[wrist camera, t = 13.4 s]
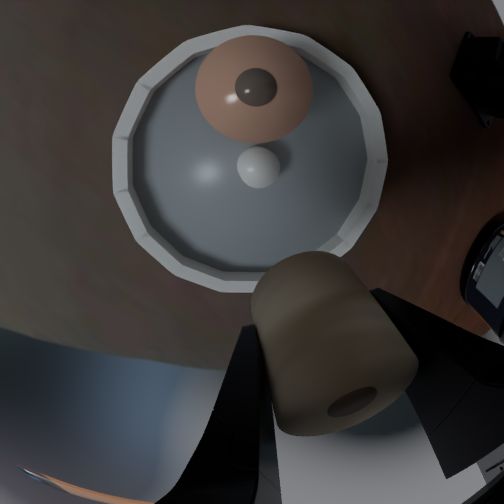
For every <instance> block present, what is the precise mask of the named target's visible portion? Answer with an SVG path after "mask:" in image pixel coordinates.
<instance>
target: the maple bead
mask: <svg viewBox="0 0 504 504" xmlns="http://www.w3.org/2000/svg"><path fill="white" fill-rule="evenodd" d="M251 311H252V316H253V320H254V325H255V327H256V331H257V335H258V340H259V344H260V349H261V353H262V358H263V363H264V369H265V374H266V378H267V383H268V387H269V392H270V396H271V400H272V404H273V409H274V413H275V417H276V422H277V425H278V427H279V429H281V431H283V432H285V433H287V434H290V435H295V436H318V435H324V434H329V433H333V432H336V431H340V430H343V429H346V428H348V427H351V426H354V425H356V424H358V423H360V422H362V421H364V420H366V419H368V418H370V417H372V416H373V415H375V414H377V413H378V412H380V411H381V410H383V409H384V408H386V407H387V406H389V405H390V404H391V403H392V402H393V401H395V400H396V399H397V398H398V397H399V396H400V395H401V394H402V393H403V392H404V391H405V390H406V389H407V388H408V386H409V385H410V384H411V382H412V381H413V379H414V377H415V375H416V373H417V371H418V366H419V361H418V358H417V357H416V355H415V354H414V352H413V351H412V349H411V348H410V346H409V345H408V343H407V342H406V341H405V339H404V338H403V336H402V335H401V334H400V332H399V331H398V329H397V328H396V327H395V325H394V324H393V322H392V321H391V320H390V318H389V317H388V316H387V314H386V313H385V311H384V310H383V309H382V307H381V306H380V305H379V303H378V302H377V301H376V300H375V298H374V297H373V296H372V294H371V293H370V292H369V290H368V289H367V288H366V286H365V285H364V284H363V283H362V281H361V280H360V279H359V278H358V276H357V275H356V274H355V273H354V271H353V270H352V269H351V268H350V266H349V265H348V264H347V263H346V262H345V261H344V260H343V259H342V258H340V257H339V256H337V255H335V254H332V253H329V252H324V251H307V252H302V253H298V254H295V255H292V256H289V257H287V258H285V259H283V260H281V261H280V262H278V263H277V264H275V265H274V266H272V267H271V268H270V269H269V270H268V271H267V272H266V273H265V274H264V275H263V276H262V277H261V279H260V280H259V282H258V283H257V285H256V287H255V289H254V291H253V294H252V298H251Z"/></svg>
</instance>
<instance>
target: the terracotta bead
mask: <svg viewBox="0 0 504 504" xmlns="http://www.w3.org/2000/svg"><path fill="white" fill-rule="evenodd" d="M195 94H196V100H197V103H198V106H199V109H200V111H201V113H202V115H203V116H204V118H205V119H206V120H207V121H208V123H209V124H210V125H211V126H212V127H213V128H214V129H216V130H217V131H218V132H220V133H221V134H223V135H225V136H227V137H229V138H231V139H234V140H236V141H240V142H245V143H265V142H270V141H274V140H277V139H279V138H282V137H284V136H285V135H287V134H289V133H290V132H292V131H293V130H294V129H295V128H296V127H297V126H299V124H300V123H301V122H302V121H303V120H304V118H305V116H306V115H307V113H308V111H309V109H310V106H311V102H312V97H313V84H312V78H311V75H310V72H309V70H308V67H307V66H306V64H305V62H304V61H303V59H302V58H301V57H300V56H299V55H298V54H297V53H296V52H295V51H294V50H293V49H292V48H291V47H289V46H288V45H286V44H284V43H283V42H281V41H278V40H276V39H273V38H270V37H266V36H259V35H248V36H241V37H236V38H233V39H230V40H228V41H226V42H224V43H222V44H220V45H219V46H217V47H216V48H215V49H214V50H212V51H211V52H210V53H209V54H208V56H207V57H206V58H205V59H204V61H203V62H202V64H201V66H200V68H199V70H198V73H197V77H196V83H195Z"/></svg>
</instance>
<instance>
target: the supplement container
mask: <svg viewBox="0 0 504 504" xmlns="http://www.w3.org/2000/svg"><path fill="white" fill-rule="evenodd" d="M460 293H461V296H462V298H463V300H464V301H465V302H466V303H467V304H468V305H469V306H470V307H471V308H472V309H473V310H474V311H475V312H476V313H477V314H478V315H479V316H480V317H481V318H482V319H483V320H484V321H485V322H486V324H487V325H488V326H489V327H490V328H491V329H492V330H493V331H494V332H495V334H496V335H497V336H498V337H499V340H500V341H501V343H503V344H504V220H498V221H495V222H493V223H492V224H490V225H489V226H488V227H487V228H486V229H485V230H484V231H483V232H482V233H481V234H480V235H479V237H478V238H477V240H476V241H475V243H474V244H473V246H472V248H471V250H470V252H469V254H468V256H467V258H466V261H465V263H464V266H463V270H462V274H461V279H460Z"/></svg>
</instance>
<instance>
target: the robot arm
mask: <svg viewBox="0 0 504 504" xmlns="http://www.w3.org/2000/svg"><path fill="white" fill-rule="evenodd" d="M450 76H451V79H452V81H453V82H454V83H455V85H456V86H457V87H458V89H459V90H460V91H461V93H462V94H463V96H464V97H465V99H466V100H467V101H468V103H469V104H470V106H471V107H472V109H473V110H474V112H475V113H476V115H477V117H478V118H479V120H480V122H481V123H482V125H483V127H484V128H487V129H490V127H491V124H492V122H493V119H494V117H498V118H502V119H504V40H503V39H502V38H500V37H475V35H474V34H473V33H472V32H466V34H465V36H464V39H463V42H462V45H461V47H460V50H459V53H458V55H457V58H456V60H455V63H454V65H453V68H452V70H451V73H450ZM369 292H370V293H371V294H372V296H373V297H374V298H375V300H376V301H377V302H378V303H379V305H380V306H381V307H382V309H383V310H384V311H385V313H386V314H387V316H388V317H389V318H390V320H391V321H392V322H393V324H394V325H395V327H396V328H397V329H398V331H399V332H400V334H401V335H402V336H403V338H404V339H405V341H406V342H407V343H408V345H409V346H410V348H411V349H412V351H413V352H414V354H415V355H416V357H417V358H418V361H419V366H418V371H417V373H416V375H415V377H414V379H413V381H412V382H411V384H410V385H409V386H408V388H407V389H406V390H405V392H406V394H407V395H408V397H409V400H410V402H411V404H412V406H413V408H414V409H415V412H416V414H417V416H418V417H419V419H420V422H421V423H422V425H423V428H424V430H425V432H426V434H427V436H428V439H429V441H430V443H431V445H432V448H433V450H434V452H435V454H436V457H437V459H438V461H439V464H440V466H441V468H442V471H443V473H444V475H445V477H446V479H448V478H450V477H452V476H453V475H455V474H457V473H459V472H461V471H462V470H464V469H466V468H468V467H469V466H471V465H472V464H474V463H476V462H477V464H478V466H479V468H480V470H481V473H482V475H483V477H484V479H485V481H486V485H485V486H484V487H483V488H482V489H481V490H479V491H478V492H477V493H475V494H474V495H473V496H471V497H470V498H469V499H468V500H466V501H465V502H463V503H462V504H504V346H503V345H500V344H498V343H495V342H492V341H490V340H487V339H485V338H482V337H480V336H478V335H475V334H473V333H471V332H469V331H467V330H465V329H463V328H461V327H459V326H457V327H456V325H455V324H453V323H451V322H449V321H447V320H444V319H442V318H440V317H438V316H436V315H434V314H432V313H430V312H428V311H426V310H424V309H422V308H420V307H418V306H416V305H414V304H412V303H410V302H407V301H405V300H403V299H401V298H399V297H397V296H395V295H393V294H391V293H389V292H386V291H384V290H382V289H380V288H375V289H372V290H369ZM213 409H214V410H213V411H212V413H211V416H210V419H209V421H208V424H207V426H206V429H205V431H204V434H203V436H202V438H201V440H200V442H199V444H198V446H197V448H196V450H195V452H194V453H193V455H192V457H191V459H190V461H189V462H188V464H187V466H186V468H185V470H184V471H183V474H182V475H181V477H180V479H179V480H178V482H177V483H176V485H175V486H174V487H173V488H172V490H171V491H170V492H168V493H167V494H166V495H165V496H164V497H162V498H161V499H160V500H159V501H157V502H156V503H154V504H282V500H281V493H280V492H281V490H280V480H279V470H278V460H277V449H276V440H275V429H274V419H273V409H272V400H271V396H270V392H269V387H268V383H267V378H266V374H265V369H264V363H263V358H262V353H261V349H260V344H259V340H258V335H257V331H256V327H255V325H254V324H250V325H246V326H243V327H242V329H241V332H240V334H239V337H238V340H237V343H236V346H235V349H234V352H233V355H232V357H231V360H230V363H229V366H228V369H227V372H226V374H225V377H224V380H223V383H222V386H221V389H220V391H219V394H218V397H217V400H216V403H215V406H214V408H213Z"/></svg>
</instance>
